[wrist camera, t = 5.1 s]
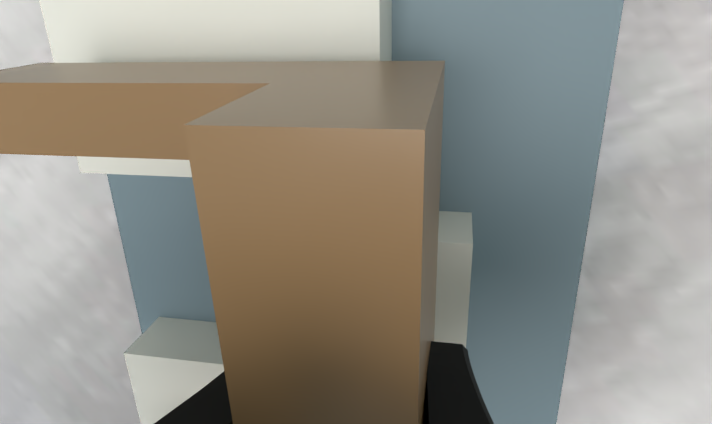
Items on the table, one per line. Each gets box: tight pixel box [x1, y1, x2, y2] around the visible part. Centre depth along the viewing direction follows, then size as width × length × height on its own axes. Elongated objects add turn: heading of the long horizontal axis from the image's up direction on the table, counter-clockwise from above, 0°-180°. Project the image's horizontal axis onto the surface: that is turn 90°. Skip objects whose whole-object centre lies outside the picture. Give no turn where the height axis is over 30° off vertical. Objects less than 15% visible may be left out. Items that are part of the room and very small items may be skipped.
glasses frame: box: [0, 61, 445, 424], centre depth 10 cm, size 8×12×5 cm
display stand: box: [39, 0, 624, 424], centre depth 15 cm, size 14×16×3 cm
